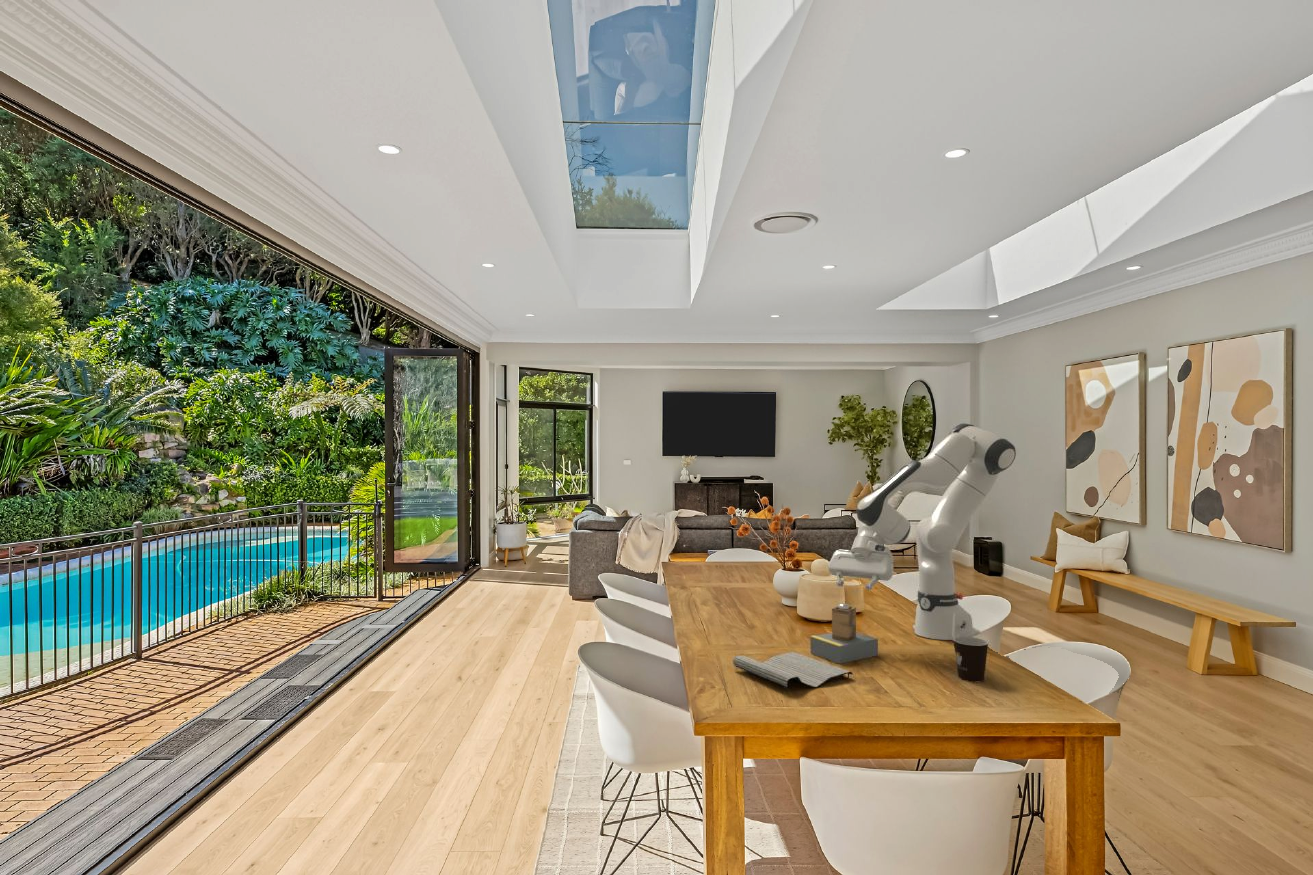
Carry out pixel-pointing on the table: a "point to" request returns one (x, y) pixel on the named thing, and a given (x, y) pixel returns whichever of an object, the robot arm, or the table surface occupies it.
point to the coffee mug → (970, 658)
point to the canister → (843, 606)
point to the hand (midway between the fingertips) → (853, 587)
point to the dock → (844, 647)
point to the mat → (791, 669)
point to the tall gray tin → (844, 624)
